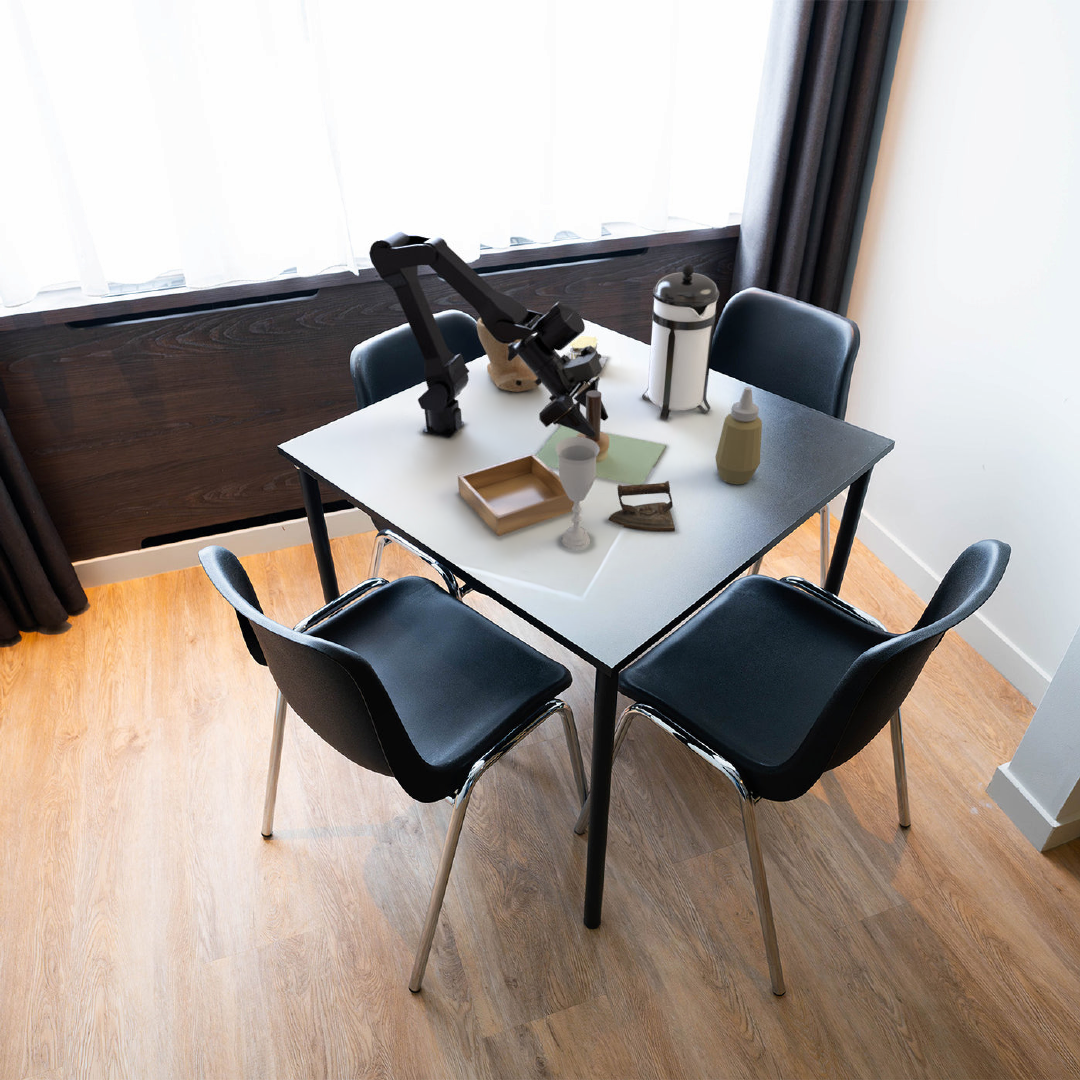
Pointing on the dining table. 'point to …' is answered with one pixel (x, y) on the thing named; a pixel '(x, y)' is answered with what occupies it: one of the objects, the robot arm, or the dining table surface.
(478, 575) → the dining table surface
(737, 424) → the squeeze bottle
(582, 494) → the chalice
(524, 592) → the dining table surface
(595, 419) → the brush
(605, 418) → the robot arm
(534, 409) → the dining table surface
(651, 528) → the clothes iron
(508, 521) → the tray
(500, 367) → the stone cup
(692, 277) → the coffee press
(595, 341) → the stacked layers on plate
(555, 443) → the mat
